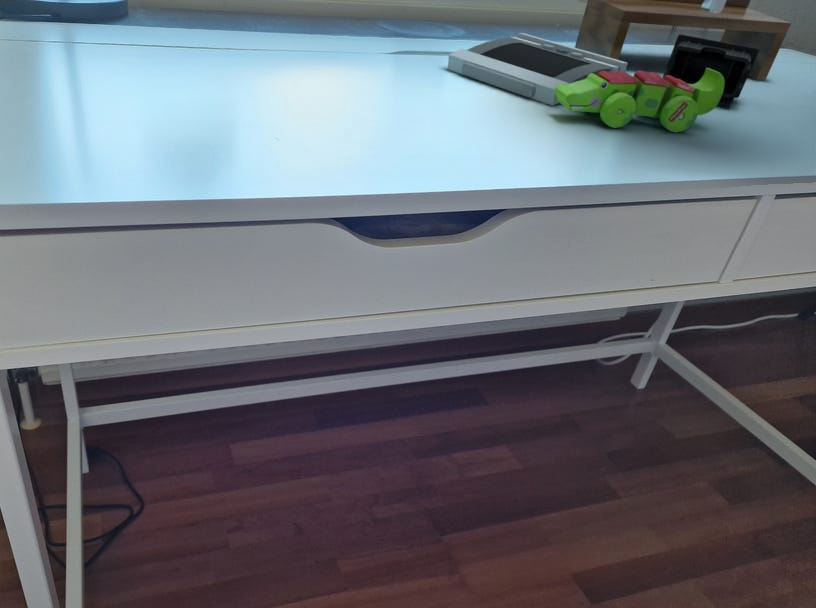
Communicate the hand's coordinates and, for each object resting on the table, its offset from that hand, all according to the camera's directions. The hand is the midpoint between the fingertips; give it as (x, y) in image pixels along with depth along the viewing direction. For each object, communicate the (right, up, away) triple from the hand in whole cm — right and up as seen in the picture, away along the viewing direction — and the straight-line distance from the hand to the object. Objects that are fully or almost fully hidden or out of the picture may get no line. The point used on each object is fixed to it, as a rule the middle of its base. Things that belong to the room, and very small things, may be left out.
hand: (669, 2), depth 71 cm
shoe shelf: (+16, +8, +33) cm, 37 cm away
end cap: (+13, -2, +20) cm, 24 cm away
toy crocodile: (-1, -10, +8) cm, 13 cm away
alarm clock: (-9, 0, +19) cm, 21 cm away
